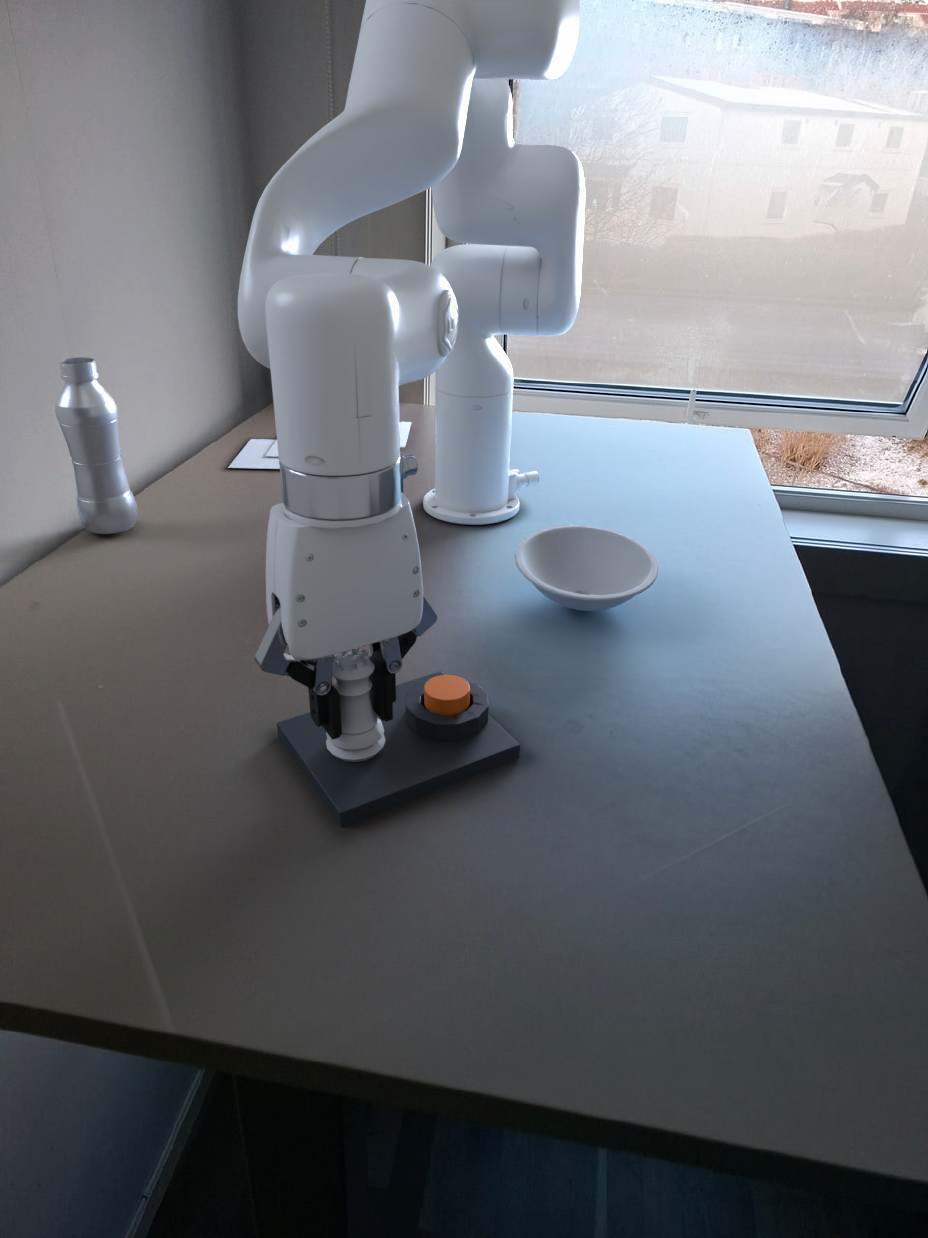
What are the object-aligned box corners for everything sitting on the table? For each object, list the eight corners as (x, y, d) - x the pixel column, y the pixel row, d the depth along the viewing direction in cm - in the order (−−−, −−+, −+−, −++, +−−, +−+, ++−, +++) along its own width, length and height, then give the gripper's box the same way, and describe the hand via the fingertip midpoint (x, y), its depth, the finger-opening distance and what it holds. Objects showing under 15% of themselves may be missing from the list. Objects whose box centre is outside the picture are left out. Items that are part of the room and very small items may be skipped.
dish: (666, 647, 80) (673, 600, 77) (515, 643, 80) (517, 596, 78) (637, 567, 95) (642, 526, 93) (510, 563, 95) (512, 522, 93)
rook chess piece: (394, 735, 65) (392, 646, 61) (370, 770, 61) (366, 678, 57) (342, 723, 66) (336, 635, 62) (315, 757, 62) (307, 665, 58)
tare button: (454, 686, 69) (454, 670, 68) (478, 708, 66) (478, 691, 65) (416, 698, 67) (415, 682, 66) (438, 721, 64) (438, 705, 64)
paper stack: (400, 471, 121) (400, 467, 121) (228, 467, 121) (227, 463, 121) (411, 425, 142) (411, 421, 141) (263, 422, 142) (263, 418, 141)
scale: (443, 683, 74) (443, 654, 72) (522, 757, 65) (524, 726, 63) (277, 736, 67) (274, 705, 65) (341, 828, 58) (338, 795, 56)
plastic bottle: (122, 543, 98) (88, 369, 88) (70, 537, 99) (30, 365, 90) (151, 522, 104) (121, 356, 94) (101, 517, 105) (67, 352, 95)
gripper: (426, 449, 60) (426, 666, 69) (194, 489, 52) (229, 727, 61) (483, 481, 54) (475, 713, 63) (233, 530, 47) (265, 786, 56)
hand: (354, 718), depth 62 cm, fingers closed on rook chess piece, 3 cm apart
